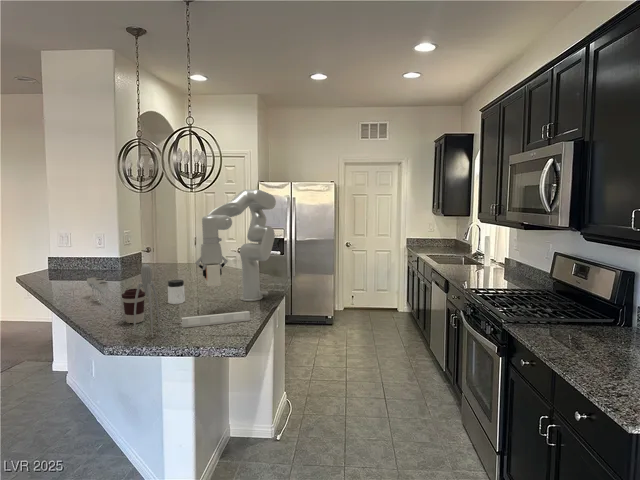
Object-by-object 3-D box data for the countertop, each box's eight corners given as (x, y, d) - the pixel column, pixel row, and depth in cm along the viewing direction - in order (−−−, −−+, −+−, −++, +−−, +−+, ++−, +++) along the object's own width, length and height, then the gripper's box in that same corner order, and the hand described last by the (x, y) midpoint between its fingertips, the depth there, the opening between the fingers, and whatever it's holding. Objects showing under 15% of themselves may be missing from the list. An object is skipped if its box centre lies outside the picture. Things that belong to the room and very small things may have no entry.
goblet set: (111, 304, 238) (110, 280, 237) (100, 306, 234) (98, 281, 233) (97, 296, 259) (96, 274, 258) (86, 297, 255) (85, 275, 254)
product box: (217, 281, 223) (216, 262, 222) (220, 285, 213) (219, 265, 212) (205, 282, 221) (204, 263, 220) (207, 286, 211) (206, 266, 210)
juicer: (138, 331, 188) (135, 262, 185) (160, 330, 188) (157, 261, 186) (130, 338, 177) (126, 265, 175) (153, 337, 178) (149, 265, 175)
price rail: (249, 319, 204) (248, 311, 204) (250, 320, 202) (249, 312, 202) (182, 326, 194) (181, 317, 193) (182, 328, 191) (182, 319, 191)
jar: (170, 304, 234) (169, 283, 233) (166, 302, 241) (165, 280, 240) (187, 302, 239) (186, 281, 238) (182, 299, 246) (181, 278, 245)
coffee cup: (123, 325, 196) (121, 293, 195) (123, 320, 205) (121, 288, 204) (146, 323, 200) (145, 290, 199) (146, 317, 209) (144, 287, 208)
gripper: (227, 239, 221) (228, 274, 223) (192, 241, 215) (193, 277, 217) (229, 240, 214) (231, 276, 216) (193, 242, 208) (195, 279, 210)
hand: (212, 276), depth 217 cm, fingers closed on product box, 6 cm apart
